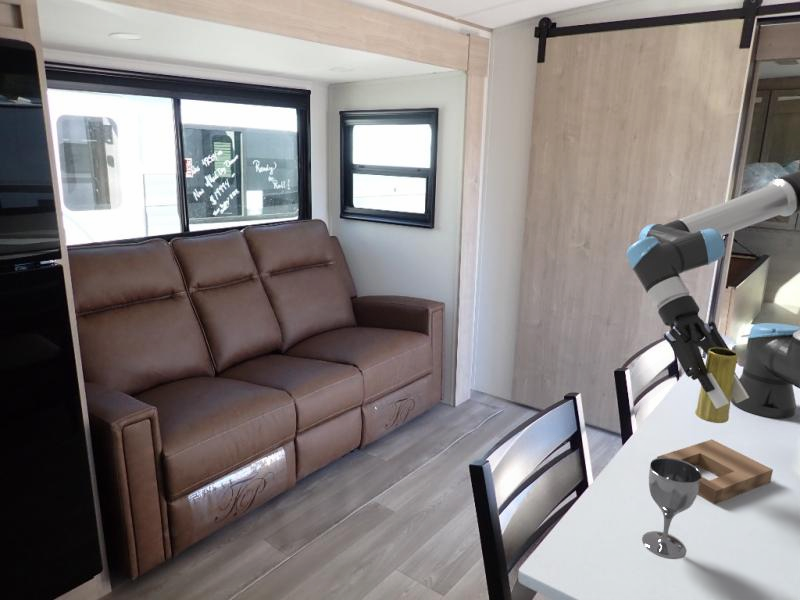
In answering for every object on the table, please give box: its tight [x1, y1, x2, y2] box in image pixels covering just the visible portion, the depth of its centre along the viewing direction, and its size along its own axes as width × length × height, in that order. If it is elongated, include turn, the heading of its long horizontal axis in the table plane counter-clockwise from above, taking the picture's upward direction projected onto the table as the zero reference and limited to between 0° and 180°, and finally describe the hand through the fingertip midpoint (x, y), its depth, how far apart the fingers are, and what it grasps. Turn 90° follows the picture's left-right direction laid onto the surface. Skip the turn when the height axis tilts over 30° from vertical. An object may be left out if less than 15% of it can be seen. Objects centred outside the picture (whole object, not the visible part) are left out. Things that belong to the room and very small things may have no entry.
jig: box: [656, 439, 774, 505], centre depth 123 cm, size 18×14×3 cm
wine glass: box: [641, 457, 702, 560], centre depth 99 cm, size 8×8×15 cm
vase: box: [694, 347, 739, 424], centre depth 116 cm, size 6×6×14 cm
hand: (732, 402), depth 113 cm, fingers closed on vase, 5 cm apart
